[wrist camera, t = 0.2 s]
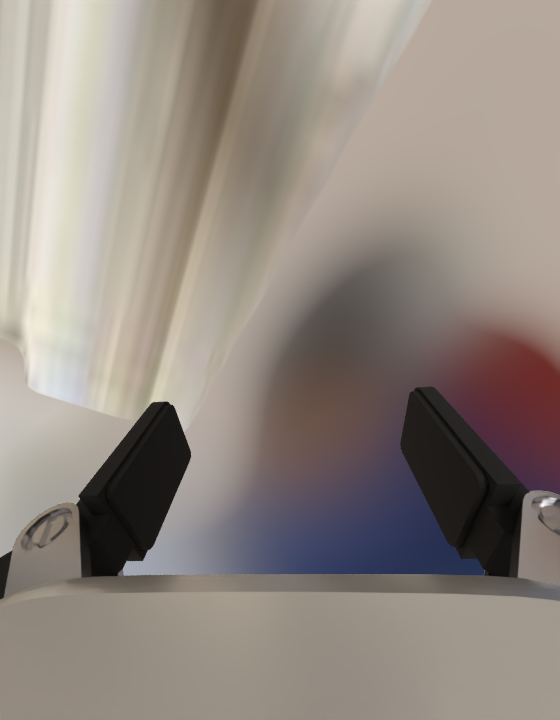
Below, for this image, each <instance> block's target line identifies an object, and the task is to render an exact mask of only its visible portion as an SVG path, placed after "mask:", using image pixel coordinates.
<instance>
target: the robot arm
mask: <svg viewBox="0 0 560 720" xmlns="http://www.w3.org/2000/svg"><path fill="white" fill-rule="evenodd" d="M401 449H402V453H403V455H404V457H405V459H406V460H407V463H408V464H409V466H410V468H411V470H412V472H413V474H414V476H415V478H416V480H417V482H418V484H419V486H420V488H421V490H422V492H423V494H424V496H425V498H426V500H427V502H428V504H429V506H430V508H431V510H432V512H433V514H434V516H435V518H436V520H437V522H438V524H439V526H440V528H441V530H442V532H443V534H444V536H445V538H446V540H447V542H448V543H449V544H450V545H451V546H453V547H456V549H457V551H458V553H459V555H460V557H461V559H464V558H466V559H467V558H477V559H478V560H479V562H480V564H481V566H482V567H483V569H485V572H484V576H472V575H471V576H469V575H427V574H426V575H422V574H417V575H415V574H402V575H401V574H398V575H397V574H272V575H271V574H262V575H261V574H259V575H258V574H255V575H254V574H253V575H251V574H249V575H248V574H247V575H246V574H244V575H140V576H124V575H123V567H124V565H125V563H126V561H143V559H144V557H145V555H146V553H147V550H150V549H151V548H152V547H153V545H154V543H155V541H156V538H157V536H158V534H159V531H160V529H161V526H162V524H163V522H164V520H165V517H166V515H167V513H168V510H169V508H170V506H171V503H172V501H173V498H174V496H175V494H176V492H177V489H178V487H179V485H180V482H181V480H182V478H183V475H184V473H185V471H186V468H187V466H188V464H189V461H190V458H191V452H190V448H189V446H188V443H187V440H186V438H185V435H184V432H183V429H182V427H181V424H180V421H179V418H178V416H177V413H176V410H175V408H174V406H173V405H170V403H169V402H153V403H151V404H150V406H149V407H148V408H147V409H146V411H145V412H144V413H143V415H142V416H141V417H140V418H139V420H138V421H137V422H136V423H135V425H134V426H133V427H132V429H131V430H130V431H129V432H128V434H127V435H126V436H125V437H124V439H123V440H122V441H121V442H120V444H119V445H118V446H117V448H116V449H115V450H114V452H113V453H112V454H111V455H110V456H109V458H108V459H107V460H106V461H105V463H104V464H103V465H102V467H101V468H100V469H99V470H98V472H97V473H96V474H95V475H94V477H93V478H92V479H91V480H90V482H89V483H88V484H87V486H86V487H85V488H84V489H83V491H82V492H81V493H80V495H79V498H80V500H79V502H78V503H77V504H76V505H75V504H73V503H63V504H58V505H56V506H54V507H52V508H49V509H48V510H46V511H44V512H43V513H41V514H39V515H38V516H37V517H36V518H35V519H33V520H32V521H31V522H30V523H29V524H28V525H27V526H26V527H25V528H24V529H23V530H22V531H21V533H20V534H19V536H18V538H17V539H16V541H15V544H14V546H13V550H12V551H11V552H9V553H7V554H6V555H4V556H2V557H1V558H0V720H560V495H557V494H554V493H551V492H546V491H531V492H529V491H528V490H527V488H525V486H524V485H523V484H522V483H521V482H520V481H519V480H518V479H517V477H516V476H515V475H514V474H513V473H512V472H511V471H510V470H509V469H508V468H507V467H506V465H504V463H503V462H502V461H501V460H500V459H499V458H498V457H497V456H496V454H495V453H494V452H493V451H492V450H491V449H490V448H489V447H488V446H487V445H486V443H485V442H484V441H483V440H482V439H481V438H480V437H479V436H478V435H477V434H476V433H475V431H474V430H473V429H472V428H471V427H470V426H469V425H468V424H467V423H466V422H465V421H464V419H462V417H461V416H460V415H459V414H458V413H457V412H456V411H455V410H454V408H453V407H452V406H451V405H450V404H449V403H448V402H447V401H446V400H445V399H444V398H443V396H442V395H441V394H440V393H439V392H438V391H437V390H436V389H435V388H434V387H418V388H415V390H414V392H411V393H410V395H409V400H408V405H407V411H406V416H405V422H404V427H403V433H402V438H401Z"/></svg>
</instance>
